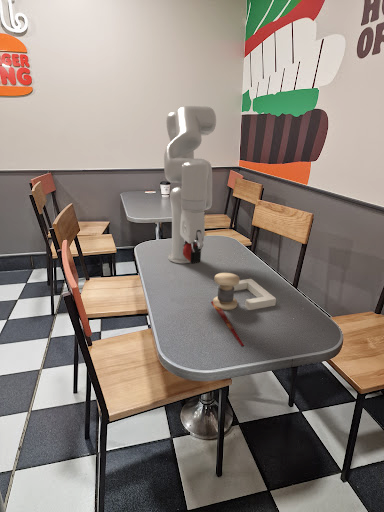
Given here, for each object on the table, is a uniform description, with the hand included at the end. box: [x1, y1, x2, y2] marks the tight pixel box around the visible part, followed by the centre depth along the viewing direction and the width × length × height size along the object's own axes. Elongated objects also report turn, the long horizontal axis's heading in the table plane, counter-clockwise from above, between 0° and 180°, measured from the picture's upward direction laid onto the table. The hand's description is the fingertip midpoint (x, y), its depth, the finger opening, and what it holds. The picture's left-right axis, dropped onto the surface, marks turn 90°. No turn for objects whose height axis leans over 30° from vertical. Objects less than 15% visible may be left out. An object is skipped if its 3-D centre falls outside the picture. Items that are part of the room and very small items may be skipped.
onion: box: [183, 240, 197, 261], centre depth 102 cm, size 6×6×8 cm
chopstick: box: [211, 300, 245, 347], centre depth 95 cm, size 2×24×1 cm, turn 16°
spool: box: [212, 272, 241, 311], centre depth 103 cm, size 8×8×10 cm
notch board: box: [233, 278, 277, 311], centre depth 110 cm, size 16×10×2 cm, turn 20°
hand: (191, 258), depth 103 cm, fingers closed on onion, 5 cm apart
